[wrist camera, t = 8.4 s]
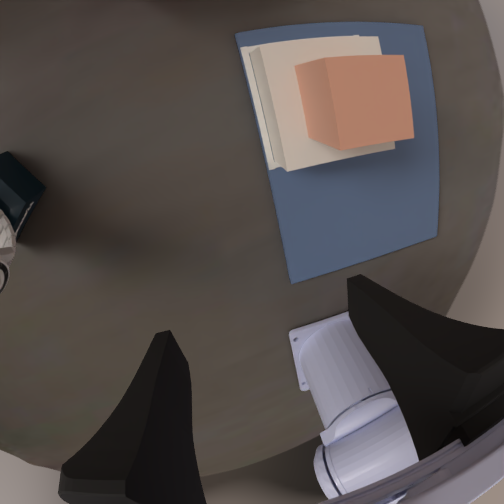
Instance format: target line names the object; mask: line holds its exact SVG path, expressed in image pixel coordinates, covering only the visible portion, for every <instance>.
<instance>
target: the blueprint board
mask: <svg viewBox="0 0 504 504" xmlns="http://www.w3.org/2000/svg"><path fill="white" fill-rule="evenodd" d="M358 36H378V38H379V43H380V48H381V52H382V55H404V60H405V65H406V71H407V78H408V84H409V92H410V100H411V108H412V118H413V129H414V138H411V139H404V140H398V141H394V142H395V149H391V150H386V151H380V152H375V153H370V154H365V155H360V156H355V157H350V158H346V159H341V160H336V161H332V162H327V163H323V164H318V165H314V166H310V167H305V168H301V169H297V170H293V171H289V172H287V171H286V170H285V169H284V168H282V167H281V166H280V165H279V164H278V163H276V162H275V161H274V157H273V152H272V148H271V143H270V139H269V134H268V130H267V125H266V121H265V116H264V112H263V108H262V103H261V99H260V95H259V91H258V86H257V82H256V78H255V74H254V70H253V66H252V62H251V58H250V53H251V52H252V51H253V50H255V49H256V48H257V47H258V46H261V45H267V44H273V43H280V42H288V41H297V40H306V39H317V38H332V37H358ZM235 39H236V43H237V46H238V50H239V54H240V58H241V62H242V66H243V70H244V74H245V78H246V82H247V86H248V90H249V94H250V99H251V103H252V107H253V111H254V115H255V120H256V124H257V128H258V132H259V137H260V141H261V146H262V150H263V154H264V159H265V163H266V168H267V172H268V177H269V181H270V186H271V191H272V195H273V200H274V205H275V209H276V214H277V219H278V224H279V229H280V234H281V238H282V243H283V248H284V253H285V258H286V263H287V269H288V274H289V279H290V282H291V284H294V283H297V282H300V281H304V280H307V279H310V278H313V277H317V276H320V275H323V274H326V273H329V272H332V271H336V270H339V269H342V268H345V267H348V266H351V265H354V264H357V263H360V262H363V261H366V260H369V259H372V258H375V257H378V256H381V255H384V254H387V253H390V252H393V251H396V250H399V249H402V248H405V247H408V246H411V245H413V244H416V243H419V242H422V241H425V240H428V239H430V238H433V237H436V236H437V228H438V210H439V143H438V126H437V114H436V103H435V94H434V86H433V79H432V72H431V66H430V60H429V54H428V49H427V44H426V39H425V34H424V29H423V26H420V25H411V24H399V23H383V22H326V23H309V24H297V25H287V26H279V27H271V28H264V29H257V30H251V31H245V32H239V33H235Z"/></svg>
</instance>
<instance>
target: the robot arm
mask: <svg viewBox="0 0 504 504" xmlns="http://www.w3.org/2000/svg"><path fill="white" fill-rule="evenodd" d="M347 289H348V312H345V313H342V314H339V315H336V316H333V317H330V318H327V319H324V320H321V321H318V322H315V323H312V324H309V325H306V326H303V327H300V328H296V329H293V330H291V331H290V333H289V338H290V343H291V347H292V352H293V357H294V361H295V366H296V371H297V376H298V381H299V386H300V389H301V390H302V391H306V390H309V389H310V391H311V393H312V396H313V399H314V401H315V404H316V406H317V409H318V412H319V414H320V417H321V419H322V422H323V425H324V427H325V431H323V432H321V433H320V435H321V438H322V441H323V444H322V445H320V446H318V448H317V450H316V455H315V457H314V468H315V473H316V476H317V479H318V482H319V484H320V486H321V488H322V490H323V491H324V493H325V495H326V496H327V497H328V499H329V500H326V501H323V502H319V503H316V504H470V503H471V502H473V501H474V500H475V499H477V498H478V497H480V496H481V495H482V494H484V493H485V492H486V491H488V490H489V489H490V488H492V487H493V486H494V485H495V484H497V483H498V482H499V481H500V480H502V479H503V478H504V329H494V328H488V327H482V326H477V325H472V324H468V323H464V322H461V321H457V320H453V319H450V318H447V317H444V316H442V315H439V314H437V313H434V312H431V311H429V310H426V309H424V308H422V307H420V306H418V305H416V304H414V303H411V302H409V301H407V300H405V299H404V298H402V297H400V296H398V295H396V294H394V293H392V292H391V291H389V290H387V289H385V288H384V287H382V286H380V285H379V284H377V283H375V282H373V281H372V280H370V279H368V278H367V277H365V276H363V275H361V274H360V275H357V276H354V277H351V278H348V279H347ZM294 338H296V339H294ZM58 494H59V496H60V497H61V498H62V499H63V500H64V501H66V502H67V503H69V504H206V500H205V497H204V493H203V489H202V485H201V481H200V476H199V471H198V466H197V461H196V455H195V449H194V443H193V433H192V391H191V379H190V371H189V365H188V362H187V360H186V358H185V356H184V355H183V353H182V351H181V349H180V347H179V346H178V344H177V342H176V340H175V338H174V336H173V335H172V333H171V331H170V330H168V331H164V332H160V333H156V334H155V336H154V338H153V340H152V342H151V344H150V346H149V348H148V351H147V353H146V355H145V357H144V359H143V361H142V363H141V365H140V367H139V369H138V371H137V373H136V375H135V377H134V379H133V380H132V382H131V384H130V386H129V388H128V389H127V391H126V393H125V395H124V396H123V398H122V399H121V401H120V403H119V404H118V405H117V407H116V408H115V410H114V411H113V413H112V414H111V415H110V417H109V418H108V419H107V420H106V422H105V423H104V424H103V425H102V427H101V428H100V429H99V430H98V432H97V433H96V434H95V435H94V436H93V437H92V438H91V439H90V440H89V441H88V442H87V443H86V444H85V445H84V446H83V447H82V448H81V449H80V450H79V451H78V452H77V453H76V454H75V455H74V456H72V457H71V458H70V459H69V460H68V461H67V462H65V463H64V464H63V465H62V468H61V474H60V482H59V491H58Z"/></svg>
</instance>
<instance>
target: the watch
mask: <svg viewBox="0 0 504 504" xmlns="http://www.w3.org/2000/svg"><path fill="white" fill-rule="evenodd" d="M45 189H46V187H45V186H44V185H43V184H42V183H41V182H40V181H39V180H38V179H36V178H35V177H34V176H33V175H32V174H31V173H30V172H29V171H28V170H27V169H26V168H24V167H23V166H22V165H21V164H20V163H19V162H18V161H17V160H16V159H15V158H14V157H13V156H12V155H11V154H10V153H9V152H8V151H7V152H4V153H2V154H0V293H1V292H2V291H3V289H4V288H5V286H6V284H7V282H8V279H9V275H10V273H9V272H10V271H9V266H10V264H11V262H12V260H13V258H14V255H15V250H16V248H15V247H16V241H17V239H18V237H19V235H20V233H21V232H22V230H23V228H24V226H25V224H26V222H27V220H28V218H29V216H30V215H31V213H32V211H33V209H34V207H35V206H36V204H37V202H38V200H39V199H40V197H41V195H42V194H43V192H44V190H45Z"/></svg>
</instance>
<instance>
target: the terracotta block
mask: <svg viewBox="0 0 504 504" xmlns="http://www.w3.org/2000/svg"><path fill="white" fill-rule="evenodd" d="M294 67H295V72H296V76H297V81H298V85H299V90H300V95H301V100H302V105H303V110H304V115H305V121H306V126H307V132H308V137H309V138H311V139H314V140H316V141H318V142H321V143H323V144H326V145H328V146H331V147H333V148H335V149H338V150H340V151H341V150H347V149H352V148H357V147H363V146H368V145H374V144H380V143H386V142H392V141H398V140H404V139H411V138H414V129H413V118H412V108H411V100H410V92H409V84H408V78H407V71H406V65H405V60H404V55H357V56H339V57H326V58H321V59H317V60H313V61H310V62H306V63H302V64H299V65H295V66H294Z"/></svg>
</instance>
